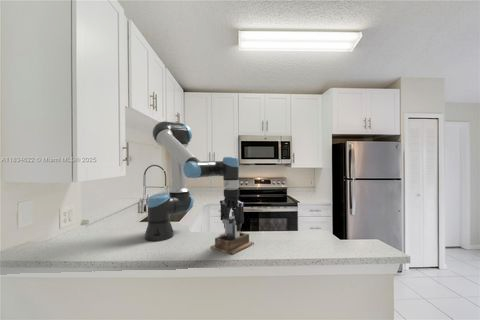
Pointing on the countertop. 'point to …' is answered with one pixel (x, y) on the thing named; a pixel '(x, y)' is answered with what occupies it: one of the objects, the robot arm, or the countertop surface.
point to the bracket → (230, 227)
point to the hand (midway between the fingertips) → (232, 236)
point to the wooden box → (232, 243)
